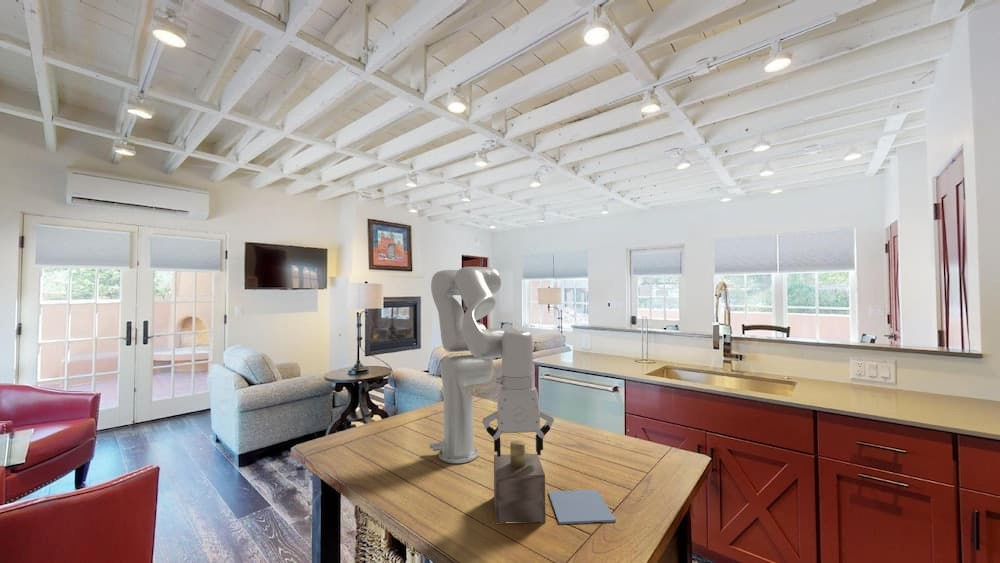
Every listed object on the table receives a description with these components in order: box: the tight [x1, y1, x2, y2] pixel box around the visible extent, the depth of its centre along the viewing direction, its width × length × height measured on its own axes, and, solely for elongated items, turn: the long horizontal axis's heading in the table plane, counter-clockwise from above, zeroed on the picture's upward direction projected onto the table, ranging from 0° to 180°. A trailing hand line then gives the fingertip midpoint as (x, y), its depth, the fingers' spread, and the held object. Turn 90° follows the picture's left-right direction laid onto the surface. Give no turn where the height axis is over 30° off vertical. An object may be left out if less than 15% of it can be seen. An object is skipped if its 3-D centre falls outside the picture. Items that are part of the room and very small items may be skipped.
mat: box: [547, 489, 616, 525], centre depth 91 cm, size 13×13×1 cm
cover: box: [493, 440, 546, 524], centre depth 90 cm, size 11×11×16 cm
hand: (518, 453), depth 90 cm, fingers open, 9 cm apart
